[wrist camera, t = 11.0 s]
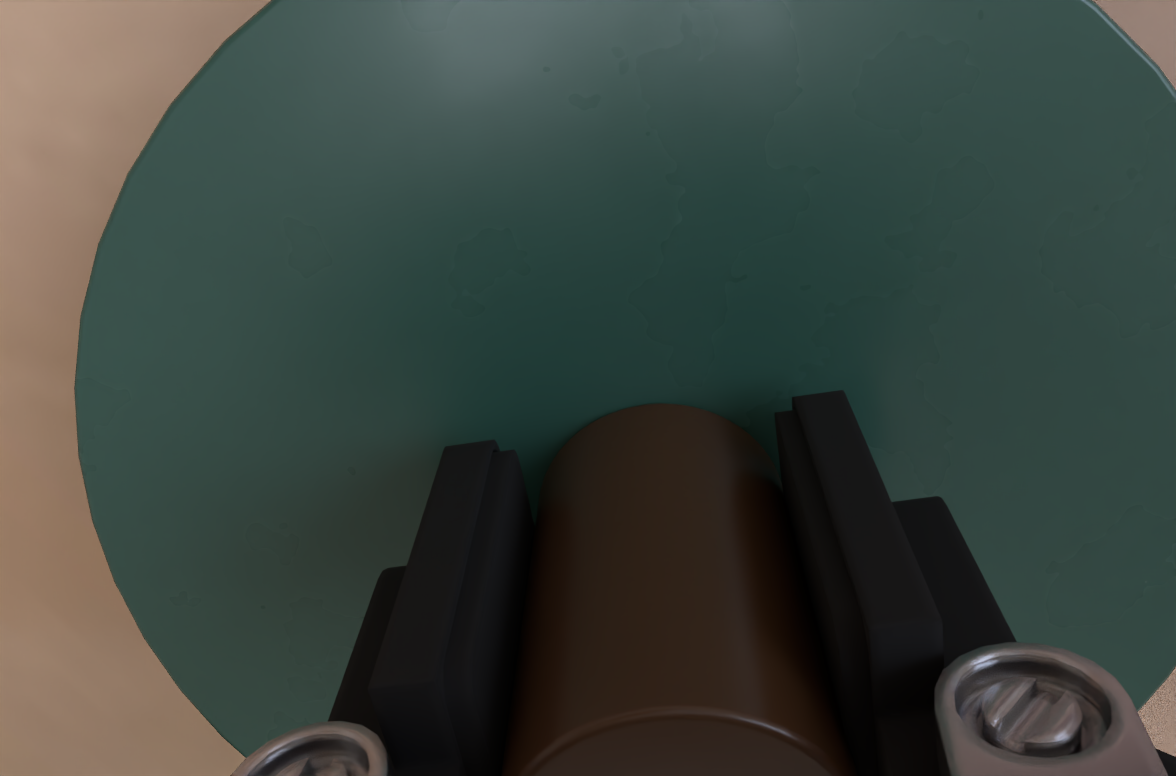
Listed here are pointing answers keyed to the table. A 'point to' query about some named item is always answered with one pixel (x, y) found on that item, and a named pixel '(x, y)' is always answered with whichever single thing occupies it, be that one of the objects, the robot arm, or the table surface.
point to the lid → (635, 344)
